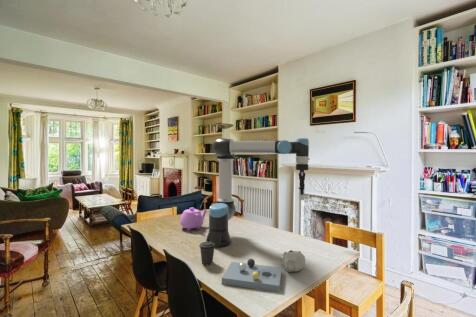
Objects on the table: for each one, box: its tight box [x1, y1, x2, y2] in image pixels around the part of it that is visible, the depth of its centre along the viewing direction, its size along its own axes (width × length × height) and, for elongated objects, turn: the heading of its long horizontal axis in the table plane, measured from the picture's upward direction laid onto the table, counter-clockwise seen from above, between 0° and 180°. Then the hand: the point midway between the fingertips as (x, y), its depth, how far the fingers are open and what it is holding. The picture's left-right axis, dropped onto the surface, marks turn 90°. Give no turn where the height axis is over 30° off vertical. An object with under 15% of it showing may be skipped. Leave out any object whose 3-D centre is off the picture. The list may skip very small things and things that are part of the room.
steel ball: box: [238, 262, 246, 272], centre depth 109 cm, size 4×4×4 cm
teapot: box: [179, 207, 208, 232], centre depth 179 cm, size 20×20×15 cm
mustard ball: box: [252, 272, 259, 280], centre depth 102 cm, size 3×3×3 cm
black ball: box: [246, 258, 256, 267], centre depth 113 cm, size 4×4×4 cm
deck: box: [221, 261, 283, 293], centre depth 108 cm, size 24×16×2 cm, turn 76°
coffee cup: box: [198, 241, 216, 266], centre depth 122 cm, size 8×8×10 cm
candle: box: [281, 250, 306, 273], centre depth 117 cm, size 9×11×15 cm
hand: (301, 198), depth 150 cm, fingers open, 13 cm apart
